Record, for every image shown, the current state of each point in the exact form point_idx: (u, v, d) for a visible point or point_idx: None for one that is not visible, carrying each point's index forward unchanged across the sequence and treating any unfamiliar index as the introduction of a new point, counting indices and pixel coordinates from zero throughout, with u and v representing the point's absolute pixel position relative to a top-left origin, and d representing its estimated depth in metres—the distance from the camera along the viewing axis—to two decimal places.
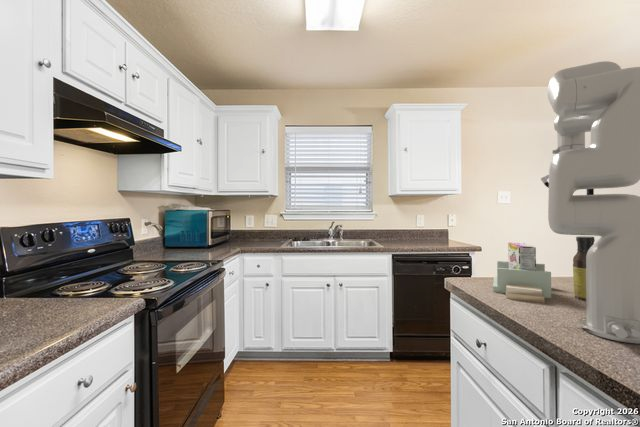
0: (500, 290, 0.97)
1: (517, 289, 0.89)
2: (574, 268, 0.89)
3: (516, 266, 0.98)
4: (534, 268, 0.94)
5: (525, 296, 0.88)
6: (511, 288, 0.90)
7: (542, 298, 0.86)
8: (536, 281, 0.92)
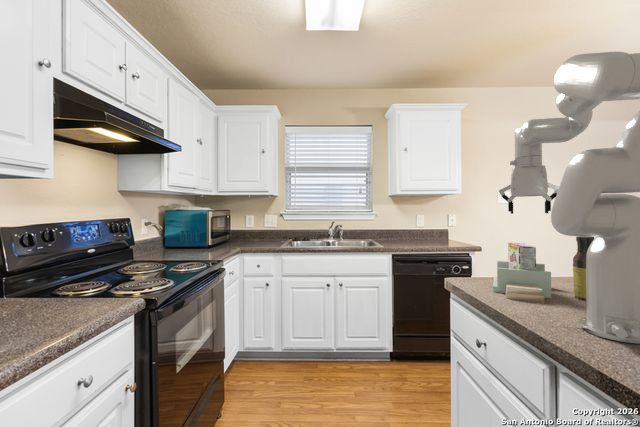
0: (500, 290, 0.97)
1: (518, 288, 0.89)
2: (574, 268, 0.89)
3: (516, 266, 0.98)
4: (534, 268, 0.94)
5: (525, 296, 0.88)
6: (512, 287, 0.90)
7: (542, 297, 0.86)
8: (536, 281, 0.92)
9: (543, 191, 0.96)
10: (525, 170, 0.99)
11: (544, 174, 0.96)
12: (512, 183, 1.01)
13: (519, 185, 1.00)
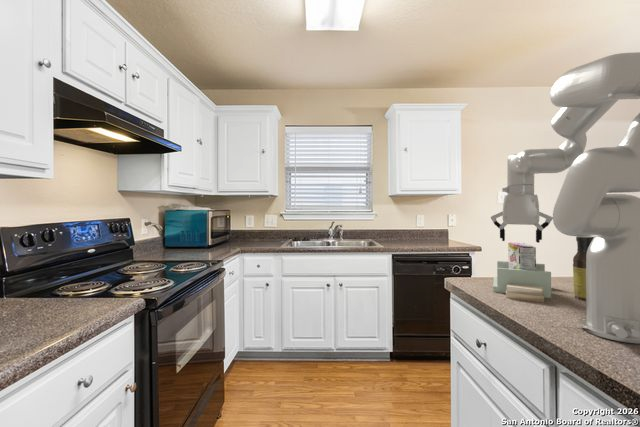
0: (500, 290, 0.97)
1: (517, 288, 0.89)
2: (574, 268, 0.89)
3: (516, 266, 0.98)
4: (534, 268, 0.94)
5: (525, 295, 0.88)
6: (511, 287, 0.90)
7: (542, 297, 0.86)
8: (536, 281, 0.92)
9: (535, 220, 0.96)
10: (517, 199, 0.98)
11: (536, 203, 0.96)
12: (504, 211, 1.00)
13: (511, 213, 0.99)
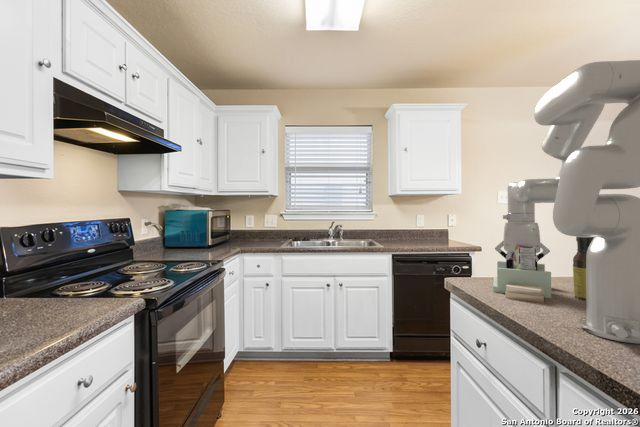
0: (500, 290, 0.97)
1: (517, 288, 0.90)
2: (574, 268, 0.89)
3: (516, 265, 0.98)
4: (534, 268, 0.94)
5: (525, 296, 0.88)
6: (511, 287, 0.91)
7: (541, 297, 0.86)
8: (536, 281, 0.92)
9: (536, 249, 0.96)
10: (518, 227, 0.98)
11: (537, 232, 0.95)
12: (505, 238, 1.00)
13: (512, 241, 0.99)
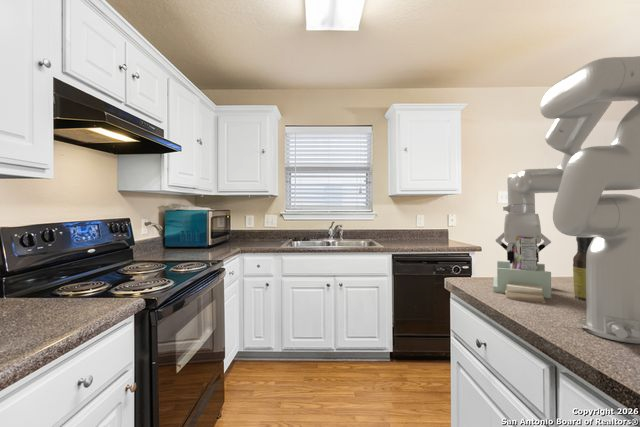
0: (500, 290, 0.97)
1: (517, 288, 0.89)
2: (574, 268, 0.89)
3: (517, 257, 0.97)
4: (535, 259, 0.94)
5: (525, 295, 0.88)
6: (511, 287, 0.90)
7: (541, 297, 0.86)
8: (536, 281, 0.92)
9: (537, 240, 0.95)
10: (518, 218, 0.98)
11: (537, 223, 0.95)
12: (505, 230, 1.00)
13: (513, 232, 0.98)
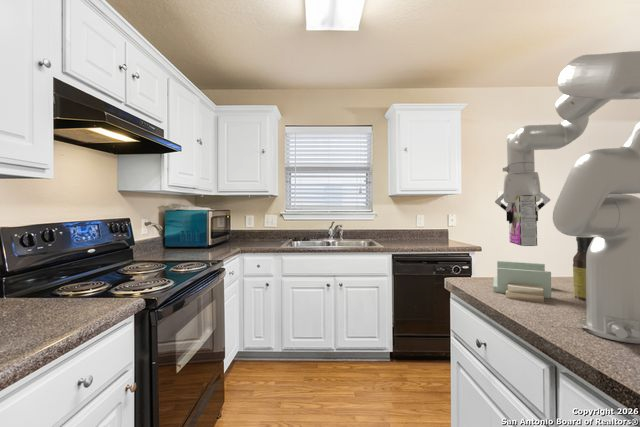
0: (500, 290, 0.97)
1: (518, 288, 0.90)
2: (574, 268, 0.89)
3: (516, 216, 0.97)
4: (534, 216, 0.94)
5: (525, 295, 0.88)
6: (512, 287, 0.91)
7: (542, 297, 0.86)
8: (536, 281, 0.92)
9: (536, 198, 0.95)
10: (517, 177, 0.97)
11: (537, 181, 0.95)
12: (505, 190, 1.00)
13: (512, 192, 0.98)
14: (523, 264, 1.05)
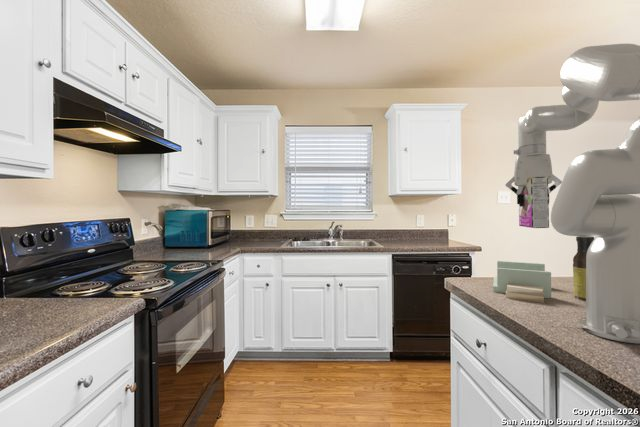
0: (500, 290, 0.97)
1: (518, 288, 0.89)
2: (574, 268, 0.89)
3: (527, 198, 0.97)
4: (546, 198, 0.93)
5: (525, 296, 0.88)
6: (512, 287, 0.90)
7: (542, 298, 0.86)
8: (536, 281, 0.92)
9: (548, 180, 0.95)
10: (529, 159, 0.97)
11: (549, 163, 0.94)
12: (516, 172, 0.99)
13: (523, 174, 0.98)
14: (523, 264, 1.05)
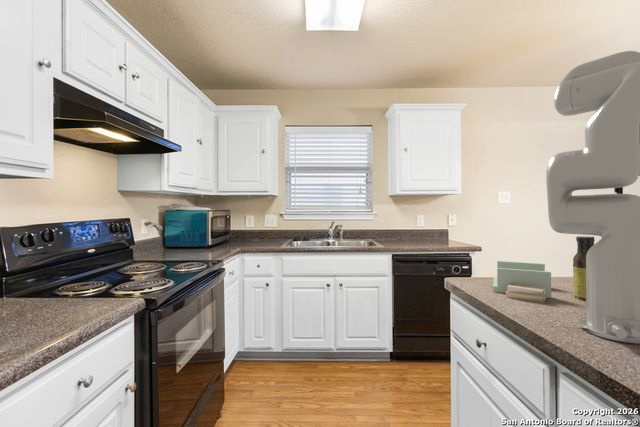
0: (500, 290, 0.97)
1: (518, 288, 0.90)
2: (574, 268, 0.89)
3: None
4: None
5: (525, 296, 0.88)
6: (512, 287, 0.91)
7: (541, 298, 0.86)
8: (536, 281, 0.92)
9: None
10: (639, 147, 0.91)
11: None
12: None
13: None
14: (523, 264, 1.05)
